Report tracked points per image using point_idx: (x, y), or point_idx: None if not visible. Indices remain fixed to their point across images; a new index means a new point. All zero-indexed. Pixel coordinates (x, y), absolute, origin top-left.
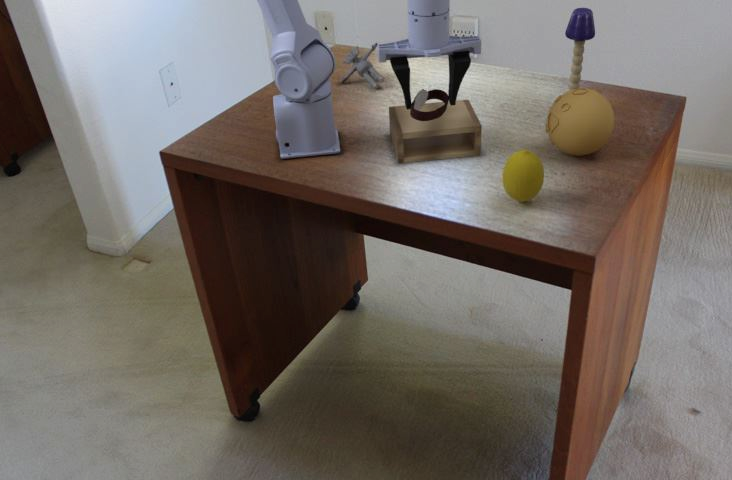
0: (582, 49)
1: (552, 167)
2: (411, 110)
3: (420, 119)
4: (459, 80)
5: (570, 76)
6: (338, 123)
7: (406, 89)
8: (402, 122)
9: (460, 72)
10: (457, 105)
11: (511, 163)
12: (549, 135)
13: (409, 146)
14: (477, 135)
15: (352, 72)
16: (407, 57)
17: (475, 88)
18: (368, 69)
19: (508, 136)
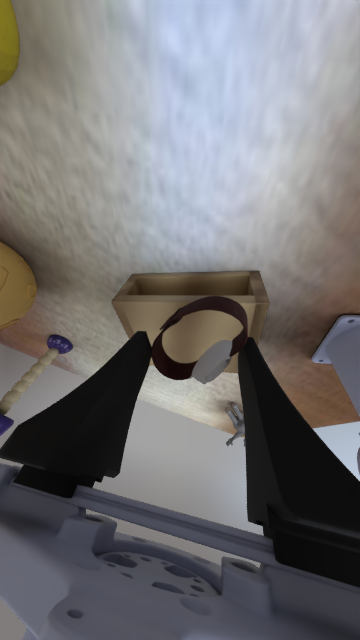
0: (3, 397)
1: (23, 220)
2: (247, 325)
3: (225, 299)
4: (92, 381)
5: (40, 370)
6: (296, 372)
7: (267, 388)
8: None
9: (67, 407)
10: None
11: None
12: (18, 271)
13: None
14: (124, 291)
15: None
16: (267, 545)
17: (149, 383)
18: (238, 422)
19: (106, 311)
